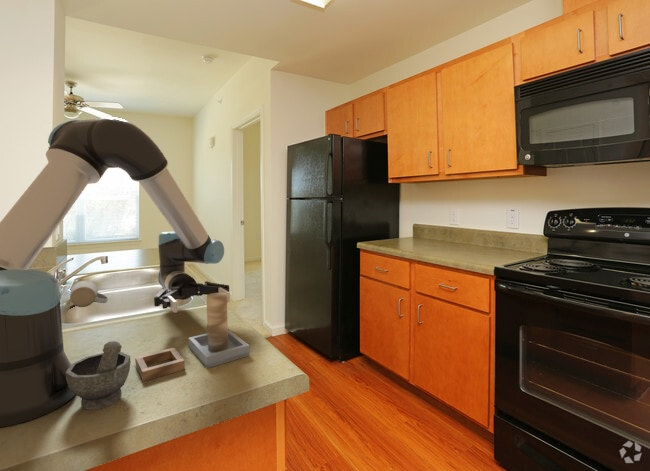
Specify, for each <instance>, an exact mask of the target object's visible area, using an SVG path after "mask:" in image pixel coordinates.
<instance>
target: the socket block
mask: <svg viewBox="0 0 650 471" xmlns="http://www.w3.org/2000/svg"><path fill="white" fill-rule="evenodd" d="M134 359H135V368H136V369H137V372H138V374H139V376H140V378H141V380H142V382H145V381H149V380H153V379H155V378H159V377H163V376H166V375H170V374H173V373H177V372H180V371H183V370H185V369H186V368H185V367H186V366H185V360H184V358H183V357H182V356H181V354H180V353H179V351H178V350H177V349H176V348H175V347H171V348H166V349H163V350H158V351H154V352H150V353H146V354H143V355H138V356H135V357H134ZM169 360H171V361H169ZM164 361H168V362H164ZM161 362H164V363H161ZM156 363H161V364H158V365H154V366H149V365H153V364H156ZM148 366H149V367H148Z"/></svg>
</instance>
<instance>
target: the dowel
mask: <svg viewBox="0 0 650 471" xmlns="http://www.w3.org/2000/svg"><path fill="white" fill-rule="evenodd" d="M228 318H229V317H228V303H227V294H226V293H212V294H209V295H206V320H207V322H206V324H207V327H206V328H207V333H208V350H209V351H210V352H220V351H224V350H227V349H228V329H229V326H228V324H229V323H228Z"/></svg>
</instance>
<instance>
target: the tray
mask: <svg viewBox="0 0 650 471" xmlns="http://www.w3.org/2000/svg"><path fill="white" fill-rule="evenodd" d="M188 348H189V349H190V351H191V352H192V353H193V354H194V356H196V358H197V359H199V361H200V362H201V364H202V365H203V366H205V368H207V369H210V368H212V367H215V366H219V365H223V364H226V363H229V362H232V361H237V360H239V359H240V360H241V359H243V358H246V357H250V344H248V343H247V342H246V341H244V340H243V339H242V338H240V336H238V335H237V334H235V332H233V331H232V330H230V329H229V328H228V349H227V350H224V351H220V352H210V351H209V350H208V332H207V333H203V334H199V335H194V336H190V337H188Z"/></svg>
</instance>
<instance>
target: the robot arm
mask: <svg viewBox="0 0 650 471" xmlns="http://www.w3.org/2000/svg"><path fill="white" fill-rule="evenodd" d="M47 143H48V145H49V146H48V149H47V150H46V152H45V157H46V159H47V160H46V161H47V164H46V165H45V166H44V167H43V169H42V170H41V171H40V172H39V174H37V176H36V177H35V178H34V180H33V181H32V182H31V183H30V185H29V186H28V187H27V189H26V190H25V191H24V192H23V194H22V195H21V196H20V197H19V199H18V200H17V201H16V202H15V203H14V204H13V206H12V207H11V208H10V210H8V212H7V213H6V214H5V216H4V217H3V218H2V219H1V221H0V428H2V427H3V428H4V427H9V426H13V425H17V424H21V423H25V422H29V421H31V420H34V419H37V418H40V417H42V416H45V415H46V414H49V413H51V412H53V411H55V410H56V409H59V408H60V407H62V406H64V405H65V404H67V403H68V402H69V401H70V400H72V399H73V398H74V397H75V395H76V394H74V393H73V392H72V391H71V390H70V388H69V387H68V384H67V381H66V371H67V370H68V368H69V367H70V365H71V364H72V363H71V361H70V360H69V358H68V356H67V354H66V351H65V350H64V335H63V334H64V333H63V324H62V323H63V322H62V311H61V298H62V297H61V296H62V295H61V291H60V286H59V283H58V280H57V278H56V277H55V276H54V275H53V274H51V273H49V272H48V271H43V270H40V269H39V270H38V269H29V268H30V267H31V265H32V264H33V262H34V261H35V260H36V259H37V257H38V255H39V254H40V252H41V251H42V250H43V248H44V247H45V245H46V244H48V241H49V240H50V238H51V237H52V236H53V234H54V232H55V231H56V230H57V228H58V227H59V226H60V224H61V223H62V221H63V220H64V219H65V217H66V216H67V214H68V213H69V211H70V210H71V209H72V207H73V206H74V204H75V203H76V201H77V200H78V198H79V197H80V195H82V193H83V191H84V190H85V189H86V187H87V186H88V185H90V184H96V183H98V182H99V181H100V180H101V178H103V175H104V174H105V173H106V171H107V170H108V169H113V168H116V169H117V168H118V169H121V170H122V171H124V172H126V173H127V175H128V176H129V178H130V179H131V180H133V181H134V182H139V184H140V185H141V187H142V189H144V191H145V192H146V193H147V195H148V196H149V198H150V199H151V201H152V202H153V203H154V205H155V206H156V207H157V209H158V210H159V212H160V213H161V215H162V216H163V218H164V219H165V220H166V222H167V223H168V225H170V227H171V229H172V230H173V231H163V232H162V231H161V233H159V235H158V244H157V246H158V258H159V271H158V273H157V280H158V283H159V285H160V286H161V288H160V290H159V292H158V293H156V294H155V296H153V304H154V307H160V306H162V309H168V308H169V309H170V310H171V311H172V312H173V313H178V301H177V300H182V301H183V300H188V299H190V298H191V297H195V296H198V297H201V296H203V295H205V296H207V295H209V294H212V293H226V294H227V304H228V303H231V297H230V296H231V295H230V294H231V292H230V285H229V284H223V283H215V282H210V281H208V280H206V281H204V283H202V282H201V283H198V282H197V281H196V280H195V279H194V277H193V276H191V275H189V274H188V273H187V272H186V271H185V269H186V268H185V265H186V263H195V264H205V265H208V264H210V265H211V264H218V263H220V262H221V261H222V260H223V258H224V255H225V246H224V244H223V242H222V241H221V240H217V239H215V238H213V239H212V238H211V237H210V235H209V234H208V232H207V230H206V229H205V227H204V225H203V224H202V222H201V221H200V220H199V216H197V214H196V212H195V211H194V210H193V208H192V206H191V205H190V203H189V202H188V200H187V198H186V197H185V196H184V194H183V191H182V190H181V189H180V187H179V186H178V183H177V182H176V181H175V179H174V177H173V176H172V174H171V172H170V171H169V169H168V166H169V161H168V160H167V158H166V157H165V155H164V153H163V152H162V150H161V149H160V148H159V146H158V145H157V144H156V142H154V140H153V139H152V138H151V137H150V136H149V135H147V133H145V132H144V131H143V130H142V129H141V128H139V127H138V126H137V125H135V124H134V123H132V122H130V121H129V120H127V119H126V120H125V119H122V118H118V117H104V118H93V119H91V118H90V119H73V120H70V121H66V122H63V123H60V124H58V125H57V126H55V127H54V128H53V129H52V130H51V132H50V134H49V135H48V139H47Z"/></svg>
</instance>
